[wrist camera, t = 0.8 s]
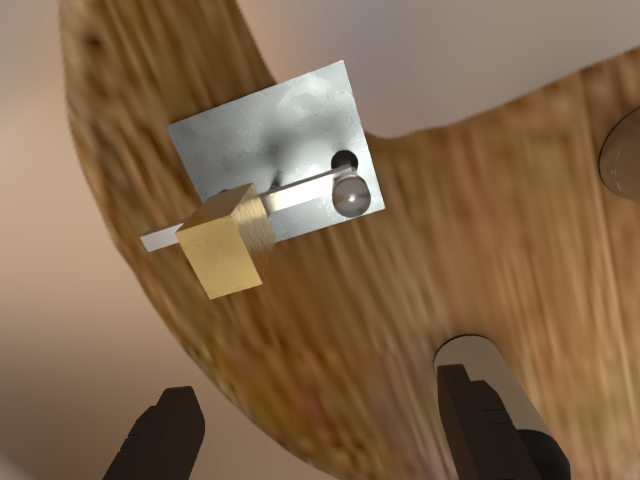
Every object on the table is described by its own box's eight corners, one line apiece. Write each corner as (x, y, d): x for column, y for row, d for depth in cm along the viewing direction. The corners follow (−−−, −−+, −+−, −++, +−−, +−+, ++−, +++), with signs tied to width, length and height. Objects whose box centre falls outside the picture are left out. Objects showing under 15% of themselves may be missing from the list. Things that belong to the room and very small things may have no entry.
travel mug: (459, 323, 44) (539, 471, 28) (511, 349, 45) (617, 505, 29) (420, 369, 47) (472, 527, 30) (471, 392, 48) (546, 555, 32)
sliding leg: (276, 148, 34) (230, 214, 18) (291, 188, 35) (262, 284, 19) (245, 158, 34) (174, 233, 18) (262, 198, 36) (210, 299, 20)
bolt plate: (342, 60, 33) (353, 49, 20) (383, 203, 38) (413, 270, 25) (166, 126, 35) (71, 155, 22) (227, 252, 41) (180, 336, 27)
